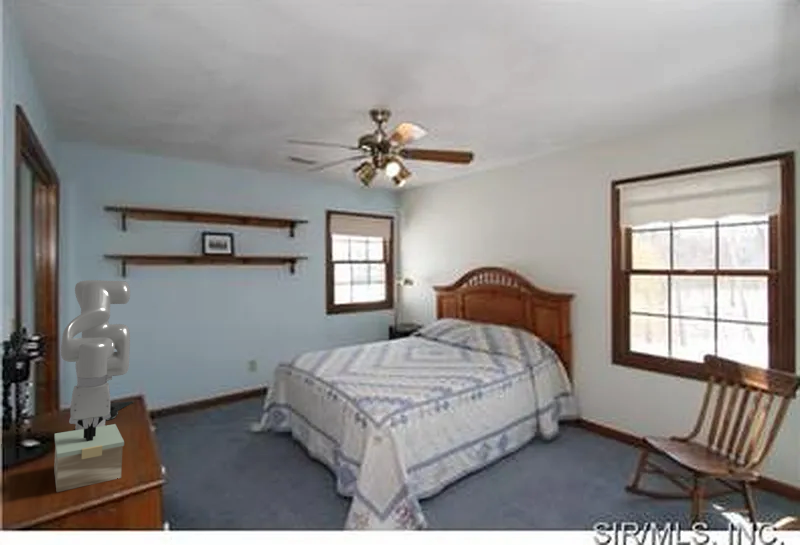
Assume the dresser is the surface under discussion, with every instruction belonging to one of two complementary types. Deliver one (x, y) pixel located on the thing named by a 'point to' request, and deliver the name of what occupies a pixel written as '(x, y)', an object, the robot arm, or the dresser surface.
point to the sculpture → (117, 408)
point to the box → (87, 469)
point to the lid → (87, 442)
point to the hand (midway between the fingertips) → (89, 439)
